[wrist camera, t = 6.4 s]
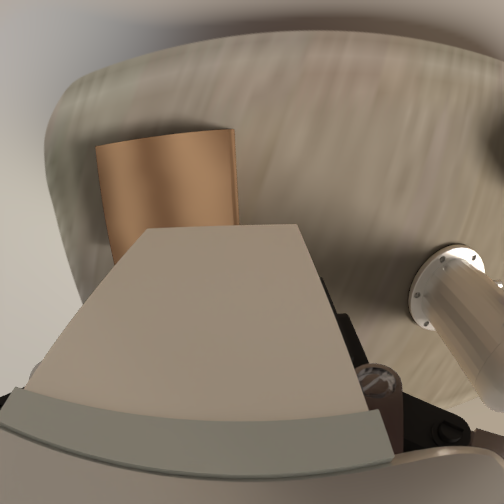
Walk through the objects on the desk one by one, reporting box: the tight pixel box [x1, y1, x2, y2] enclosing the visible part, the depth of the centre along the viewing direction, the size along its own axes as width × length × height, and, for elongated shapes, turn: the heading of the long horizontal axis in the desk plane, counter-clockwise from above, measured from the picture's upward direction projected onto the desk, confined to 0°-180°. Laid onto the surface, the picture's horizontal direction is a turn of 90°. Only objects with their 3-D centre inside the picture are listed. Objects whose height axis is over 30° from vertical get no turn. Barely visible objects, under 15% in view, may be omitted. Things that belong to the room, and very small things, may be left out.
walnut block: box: [95, 129, 239, 265], centre depth 28 cm, size 12×12×6 cm
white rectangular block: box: [0, 224, 395, 479], centre depth 8 cm, size 6×6×9 cm
